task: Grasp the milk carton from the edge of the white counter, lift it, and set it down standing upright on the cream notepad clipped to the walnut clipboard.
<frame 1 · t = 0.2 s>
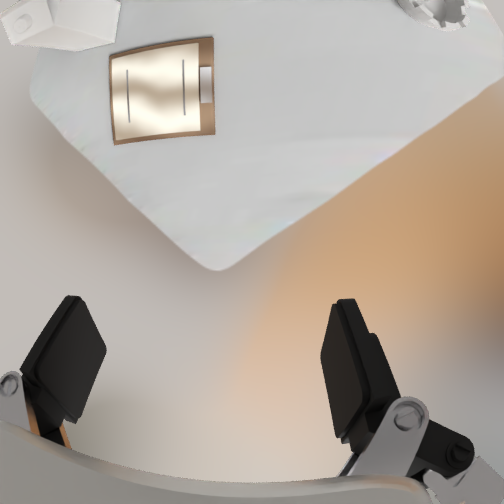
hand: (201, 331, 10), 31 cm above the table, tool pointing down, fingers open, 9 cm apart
milk carton: (99, 27, 25), on the table
clipboard: (159, 90, 31), on the table
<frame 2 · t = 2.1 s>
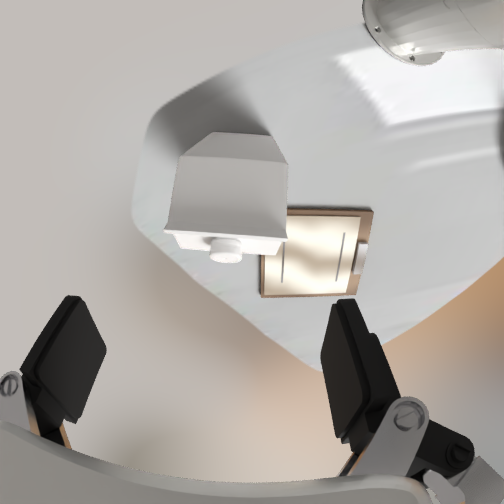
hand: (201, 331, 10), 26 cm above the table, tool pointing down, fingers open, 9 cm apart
milk carton: (240, 161, 32), on the table
clipboard: (314, 255, 38), on the table
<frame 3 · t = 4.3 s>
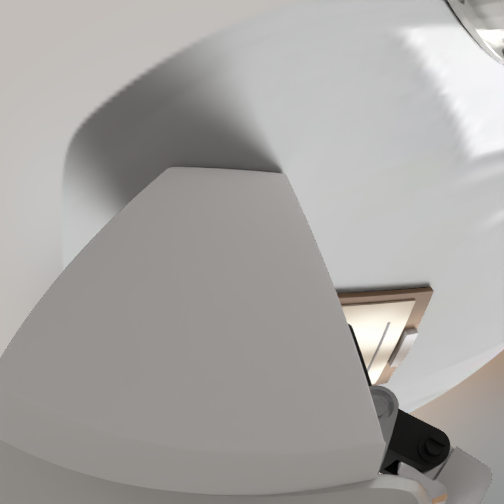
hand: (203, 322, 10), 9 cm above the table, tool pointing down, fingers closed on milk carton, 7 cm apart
milk carton: (224, 221, 18), on the table, touching gripper
clipboard: (340, 349, 24), on the table
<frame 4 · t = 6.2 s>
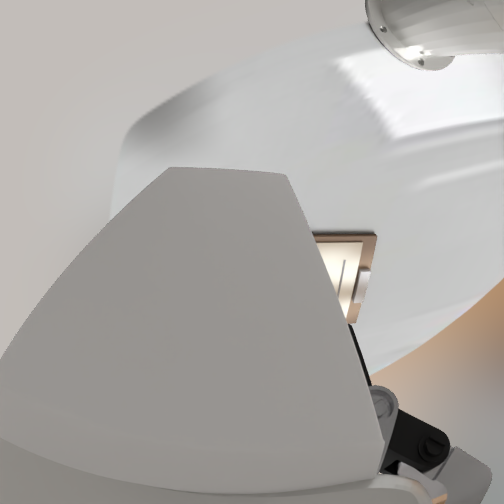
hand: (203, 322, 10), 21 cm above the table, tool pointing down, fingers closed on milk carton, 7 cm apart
milk carton: (224, 221, 18), point 11 cm above the table, touching gripper
clipboard: (311, 284, 35), on the table
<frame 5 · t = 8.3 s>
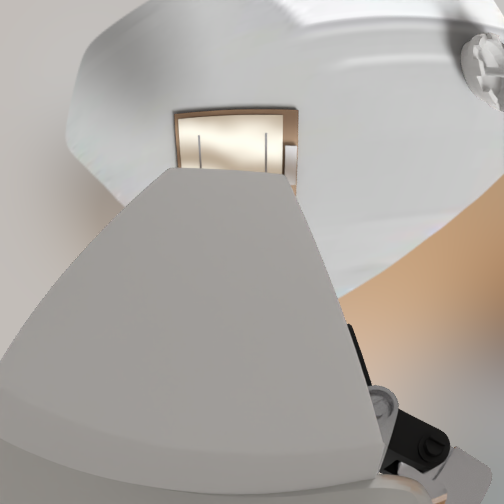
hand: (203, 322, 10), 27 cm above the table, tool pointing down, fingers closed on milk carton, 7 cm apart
flag stand: (481, 71, 24), on the table
milk carton: (224, 221, 18), point 18 cm above the table, touching gripper
clipboard: (237, 163, 34), on the table
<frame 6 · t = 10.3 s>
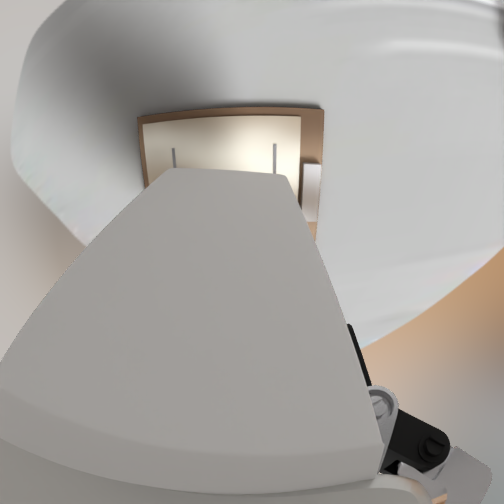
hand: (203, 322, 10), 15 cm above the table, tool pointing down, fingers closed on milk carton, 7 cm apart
milk carton: (223, 221, 18), point 6 cm above the table, touching gripper
clipboard: (231, 189, 23), on the table
when the fingers open (11 cm above the table, at t = 12.3 s): milk carton drops 1 cm, resting on clipboard.
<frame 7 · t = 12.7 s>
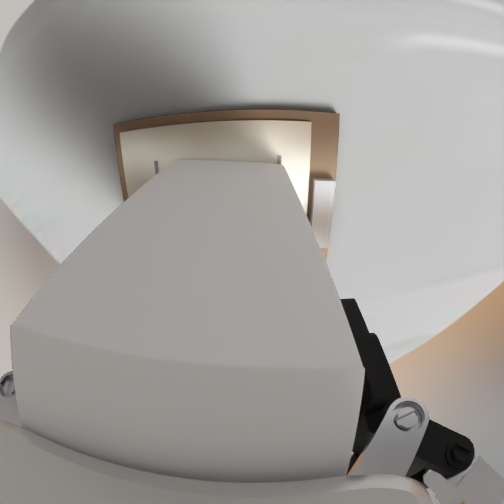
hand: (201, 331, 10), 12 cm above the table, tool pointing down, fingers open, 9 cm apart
milk carton: (226, 209, 19), point 1 cm above the table, touching clipboard
clipboard: (226, 209, 20), on the table
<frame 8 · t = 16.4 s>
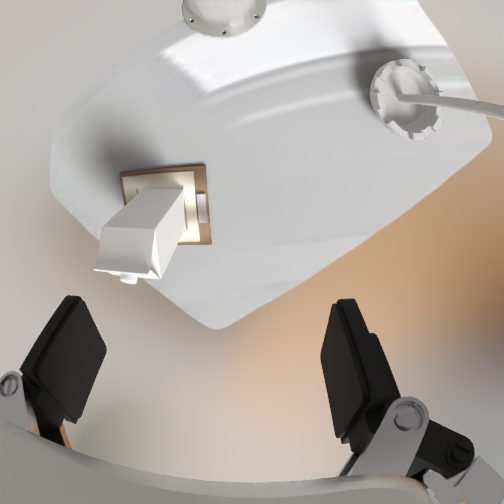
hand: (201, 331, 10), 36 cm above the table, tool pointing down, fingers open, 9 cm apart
flag stand: (397, 98, 35), on the table
milk carton: (165, 207, 45), point 1 cm above the table, touching clipboard
clipboard: (165, 207, 45), on the table
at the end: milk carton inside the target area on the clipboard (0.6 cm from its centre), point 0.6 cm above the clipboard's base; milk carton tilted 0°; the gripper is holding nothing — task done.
